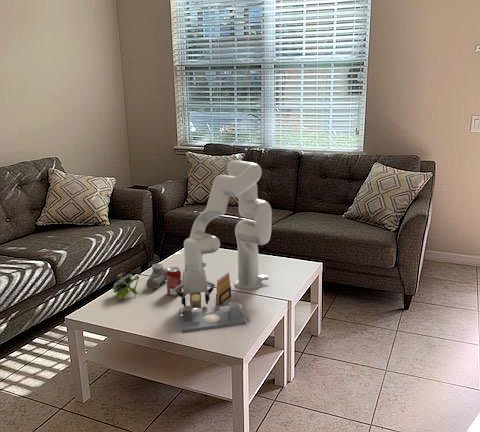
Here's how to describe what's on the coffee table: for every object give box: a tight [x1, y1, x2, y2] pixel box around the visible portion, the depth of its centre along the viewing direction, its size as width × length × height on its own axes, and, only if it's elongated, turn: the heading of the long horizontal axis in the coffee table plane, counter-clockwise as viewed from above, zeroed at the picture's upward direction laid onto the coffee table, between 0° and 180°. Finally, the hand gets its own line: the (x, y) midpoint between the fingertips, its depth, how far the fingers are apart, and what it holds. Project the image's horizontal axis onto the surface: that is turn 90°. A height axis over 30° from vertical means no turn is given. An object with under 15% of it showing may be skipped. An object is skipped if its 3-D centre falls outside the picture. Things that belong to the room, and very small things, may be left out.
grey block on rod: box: [179, 305, 204, 322], centre depth 205 cm, size 9×4×5 cm, turn 89°
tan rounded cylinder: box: [189, 292, 202, 308], centre depth 218 cm, size 5×5×7 cm
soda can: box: [166, 266, 183, 297], centre depth 232 cm, size 7×7×12 cm
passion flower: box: [111, 272, 140, 301], centre depth 231 cm, size 13×12×14 cm
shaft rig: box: [177, 301, 247, 334], centre depth 205 cm, size 26×12×6 cm, turn 104°
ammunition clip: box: [215, 272, 232, 307], centre depth 223 cm, size 11×2×12 cm, turn 152°
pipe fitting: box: [146, 263, 168, 290], centre depth 242 cm, size 12×8×10 cm, turn 163°
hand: (195, 304), depth 219 cm, fingers open, 9 cm apart
